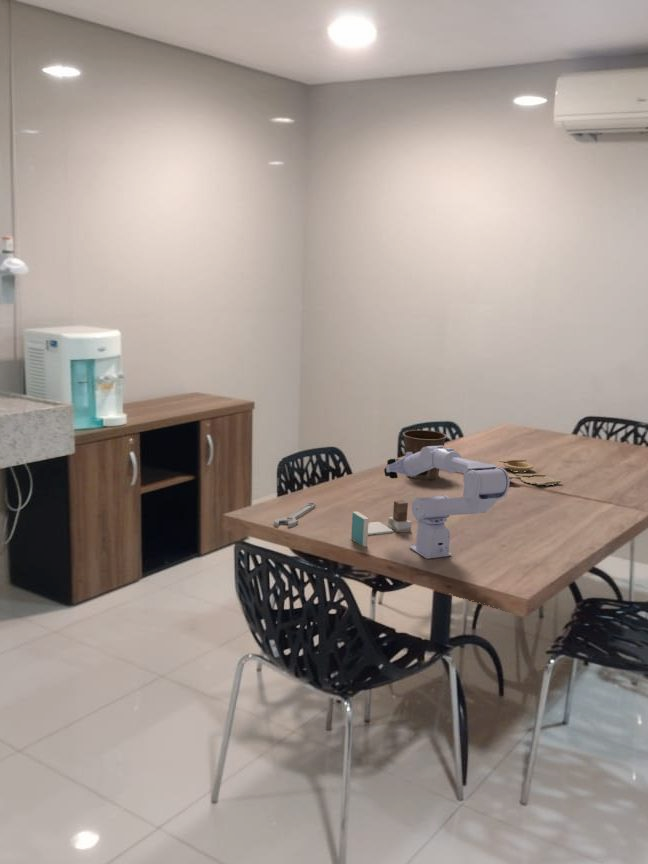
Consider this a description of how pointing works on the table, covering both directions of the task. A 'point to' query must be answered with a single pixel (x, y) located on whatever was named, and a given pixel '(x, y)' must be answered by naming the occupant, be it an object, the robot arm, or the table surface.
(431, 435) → the plant pot
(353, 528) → the tile
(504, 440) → the table surface
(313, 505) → the adjustable wrench
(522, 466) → the tableware set
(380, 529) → the mat
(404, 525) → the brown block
